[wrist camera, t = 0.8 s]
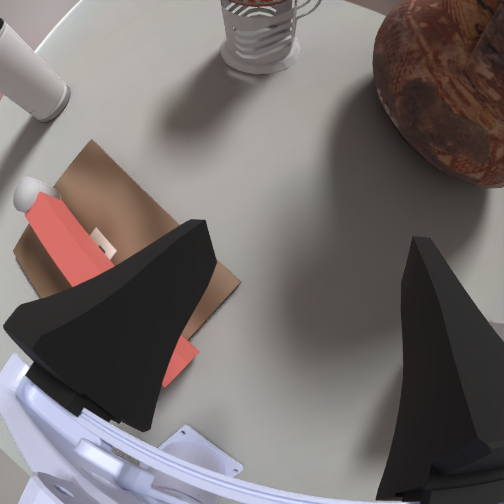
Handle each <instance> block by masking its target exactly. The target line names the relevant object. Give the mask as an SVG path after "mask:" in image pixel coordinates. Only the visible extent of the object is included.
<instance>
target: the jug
mask: <svg viewBox="0 0 504 504" xmlns="http://www.w3.org/2000/svg"><path fill="white" fill-rule="evenodd" d="M373 74H374V81H375V85H376V89H377V92H378V95H379V99H380V102H381V103H382V105H383V107H384V109H385V110H386V112H387V114H388V115H389V117H390V118H391V120H392V121H393V123H394V124H395V126H396V127H397V129H398V130H399V132H400V134H401V135H402V136H403V137H404V138H405V140H406V141H407V142H408V143H409V144H410V145H411V146H412V147H413V148H414V149H415V150H416V151H417V152H418V153H420V154H421V155H422V156H423V157H424V158H425V159H426V160H427V161H428V162H429V163H431V164H432V165H434V166H435V167H437V168H438V169H439V170H441V171H443V172H444V173H446V174H448V175H450V176H451V177H453V178H456V179H458V180H461V181H464V182H466V183H469V184H472V185H475V186H478V187H484V188H502V187H504V0H405V1H403V2H401V3H400V4H398V5H396V6H395V7H394V8H393V9H392V10H391V11H390V13H389V14H388V15H387V16H386V18H385V19H384V21H383V23H382V25H381V27H380V29H379V31H378V33H377V36H376V38H375V44H374V51H373Z"/></svg>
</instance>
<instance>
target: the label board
mask: <svg viewBox="0 0 504 504" xmlns="http://www.w3.org/2000/svg"><path fill="white" fill-rule="evenodd" d="M53 188H55V189H57V190H58V192H59V194H60V200H62V201H63V202H64V204H65V205H66V206H67V208H68V209H69V210H70V212H71V213H72V214H73V216H74V217H75V218H76V219H77V221H78V222H79V223H80V225H81V226H82V227H83V228H84V230H85V231H86V232H87V233H88V235H89V236H90V237H91V238H92V239H93V241H94V242H95V243H96V244H97V245H98V247H99V248H100V249H101V250H102V251H103V253H104V254H105V255H106V256H107V257H108V258H109V260H110V261H111V262H112V263H113V264H114V265H115V266H116V265H118V264H119V263H121V262H123V261H124V260H126V259H127V258H129V257H131V256H132V255H134V254H135V253H137V252H139V251H140V250H142V249H144V248H145V247H147V246H148V245H150V244H151V243H153V242H154V241H156V240H157V239H159V238H160V237H162V236H164V235H165V234H167V233H168V232H170V231H171V230H173V229H175V228H176V227H178V226H180V225H179V224H178V223H177V222H176V221H175V220H174V219H173V218H172V217H171V216H170V215H169V214H168V213H167V212H166V211H165V210H164V209H163V208H161V207H160V206H159V205H158V204H157V203H156V202H155V201H154V200H153V199H152V198H151V197H150V196H149V195H148V194H147V193H146V192H145V191H144V190H143V189H142V188H141V187H140V186H139V185H138V184H137V183H136V182H135V181H134V180H133V179H132V178H131V177H130V176H129V175H128V174H127V173H126V172H124V171H123V170H122V169H121V168H120V167H119V166H118V165H117V164H116V163H115V162H114V161H113V160H112V159H111V158H110V157H109V156H108V155H107V154H106V153H105V152H104V151H103V150H102V149H101V148H100V147H99V146H98V145H97V144H96V143H95V142H94V141H93V140H92V139H91V140H90V141H89V142H88V144H87V145H86V146H85V147H84V148H83V150H82V151H81V152H80V153H79V154H78V156H77V157H76V158H75V159H74V160H73V162H72V163H71V164H70V166H69V167H68V168H67V169H66V171H65V172H64V173H63V175H62V176H61V177H60V179H59V180H58V181H57V183H56V184H55V185H54V187H53ZM13 252H14V254H15V256H16V258H17V260H18V261H19V263H20V265H21V267H22V268H23V270H24V272H25V273H26V275H27V277H28V278H29V280H30V281H31V283H32V285H33V286H34V288H35V289H36V291H37V292H38V294H39V296H40V297H41V299H42V298H45V297H48V296H51V295H54V294H56V293H59V292H62V291H64V290H67V289H69V288H72V285H71V284H70V283H69V281H68V280H67V279H66V277H65V276H64V275H63V273H62V272H61V270H60V269H59V268H58V266H57V265H56V263H55V262H54V260H53V259H52V258H51V256H50V255H49V253H48V252H47V250H46V249H45V247H44V246H43V244H42V243H41V241H40V239H39V238H38V236H37V235H36V233H35V231H34V230H33V228H32V227H31V225H30V223H29V224H28V226H27V228H26V229H25V231H24V233H23V234H22V236H21V238H20V239H19V241H18V243H17V245H16V246H15V248H14V250H13ZM216 260H217V259H216ZM240 283H241V281H240V280H239V279H237V278H236V277H235V276H234V275H233V274H232V273H231V272H230V271H229V270H228V269H227V268H225V267H224V266H223V265H222V264H221V263H220V262H219V261H218V260H217V264H216V267H215V270H214V273H213V275H212V278H211V280H210V283H209V285H208V287H207V289H206V291H205V293H204V294H203V296H202V298H201V300H200V302H199V303H198V305H197V307H196V309H195V310H194V312H193V314H192V316H191V318H190V319H189V321H188V323H187V325H186V327H185V328H184V330H183V332H182V334H181V335H182V336H183V337H184V338H185V339H186V340H187V341H188V340H189V339H190V337H191V336H192V335H193V334H194V333H195V332H196V331H197V330H198V329H199V328H200V327H201V325H202V324H203V323H204V322H205V321H206V320H207V319H208V318H209V317H210V316H211V315H212V313H213V312H214V311H215V310H216V309H217V308H218V307H219V306H220V305H221V304H222V303H223V301H224V300H225V299H226V298H227V297H228V296H229V295H230V294H231V293H232V292H233V290H234V289H235V288H236V287H237V286H238V285H239V284H240Z"/></svg>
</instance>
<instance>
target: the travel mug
mask: <svg viewBox="0 0 504 504" xmlns="http://www.w3.org/2000/svg"><path fill="white" fill-rule="evenodd" d="M0 92H1V93H3V94H4V95H5V96H7V97H8V98H9V99H11V100H12V101H13V102H15V103H16V104H17V105H19V106H20V107H21V108H23V109H24V110H25V111H27V112H28V113H29V114H31V115H32V116H34V117H35V118H36V119H37V120H39V121H40V122H48V121H51V120H52V119H54V118H55V117H56V116H58V115H59V114H60V113H61V111H62V110H63V109H64V107H65V106H66V104H67V103H68V100H69V97H70V88H69V87H68V86H67V85H66V84H65V83H64V82H63V81H62V80H61V79H60V78H59V77H58V76H57V75H56V74H55V73H54V72H53V71H52V70H51V68H50V67H49V66H48V65H47V64H46V63H45V62H44V61H43V60H42V59H41V58H40V57H39V56H38V55H37V54H36V53H35V52H34V51H33V50H32V49H31V48H30V47H29V46H28V45H27V44H26V43H25V42H24V41H23V40H22V39H21V38H20V37H19V36H18V34H16V32H15V31H14V30H13V29H12V28H11V27H10V26H9V25H8V24H6V22H5V21H3V20H2V19H1V18H0Z"/></svg>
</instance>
